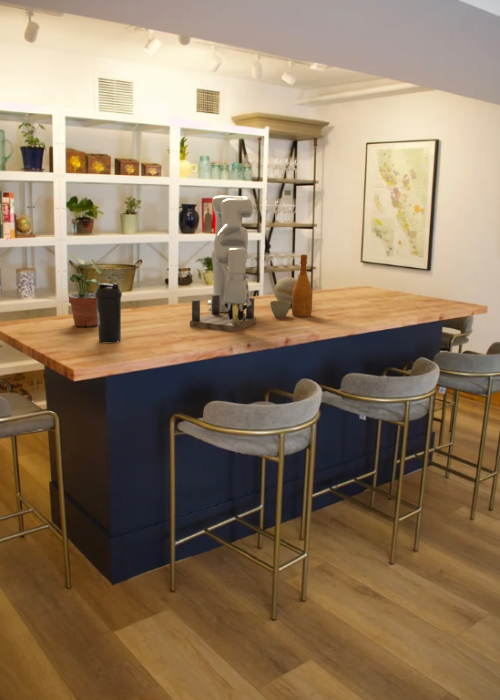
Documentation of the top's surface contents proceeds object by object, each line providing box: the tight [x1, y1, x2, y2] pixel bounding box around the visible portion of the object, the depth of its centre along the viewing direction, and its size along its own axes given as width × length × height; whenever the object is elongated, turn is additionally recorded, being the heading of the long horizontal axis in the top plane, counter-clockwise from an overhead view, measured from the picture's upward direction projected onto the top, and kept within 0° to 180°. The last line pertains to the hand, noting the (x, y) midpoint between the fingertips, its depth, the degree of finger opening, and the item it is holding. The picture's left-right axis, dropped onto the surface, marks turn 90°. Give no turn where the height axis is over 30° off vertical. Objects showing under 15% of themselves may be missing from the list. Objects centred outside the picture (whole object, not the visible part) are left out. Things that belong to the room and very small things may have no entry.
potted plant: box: [68, 252, 106, 328], centre depth 285 cm, size 16×15×35 cm
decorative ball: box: [273, 276, 297, 306], centre depth 349 cm, size 15×15×15 cm
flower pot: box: [270, 300, 292, 318], centre depth 317 cm, size 10×10×7 cm
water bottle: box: [94, 282, 123, 343], centre depth 258 cm, size 10×10×23 cm
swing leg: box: [232, 303, 246, 325], centre depth 286 cm, size 13×4×9 cm, turn 165°
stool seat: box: [189, 294, 257, 333], centre depth 295 cm, size 22×22×12 cm
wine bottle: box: [291, 253, 313, 318], centre depth 318 cm, size 10×10×30 cm
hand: (235, 318), depth 282 cm, fingers closed on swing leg, 3 cm apart
